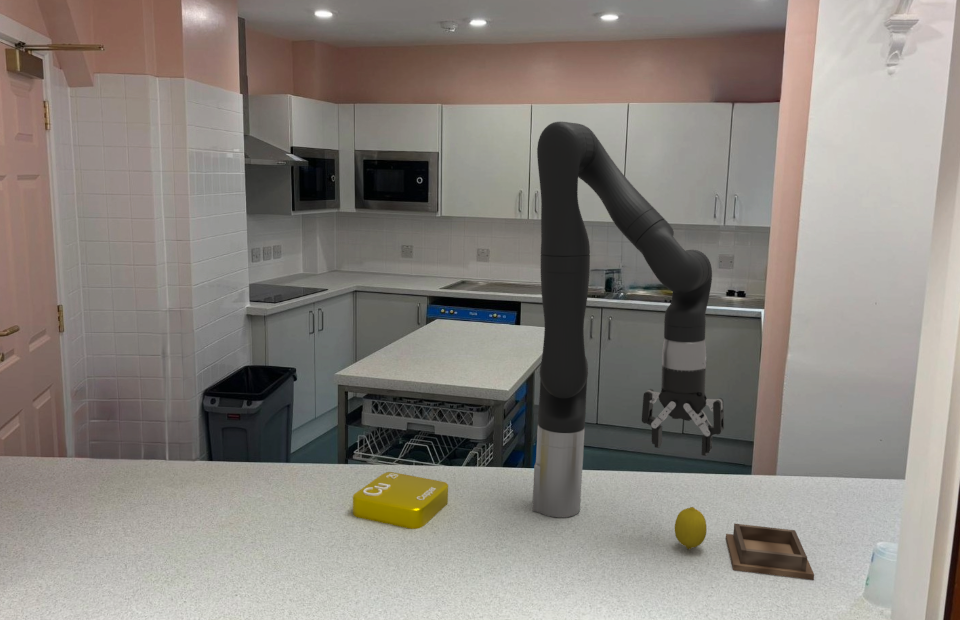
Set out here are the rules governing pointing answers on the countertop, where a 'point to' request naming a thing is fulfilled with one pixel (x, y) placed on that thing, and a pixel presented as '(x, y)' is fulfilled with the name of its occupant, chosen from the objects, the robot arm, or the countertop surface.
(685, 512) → the lemon
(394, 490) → the element tile
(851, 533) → the countertop surface
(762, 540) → the lemon stand
